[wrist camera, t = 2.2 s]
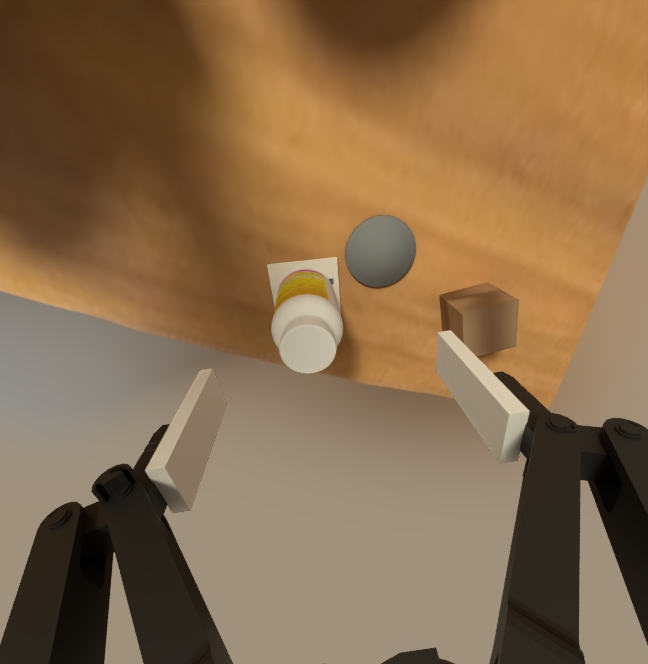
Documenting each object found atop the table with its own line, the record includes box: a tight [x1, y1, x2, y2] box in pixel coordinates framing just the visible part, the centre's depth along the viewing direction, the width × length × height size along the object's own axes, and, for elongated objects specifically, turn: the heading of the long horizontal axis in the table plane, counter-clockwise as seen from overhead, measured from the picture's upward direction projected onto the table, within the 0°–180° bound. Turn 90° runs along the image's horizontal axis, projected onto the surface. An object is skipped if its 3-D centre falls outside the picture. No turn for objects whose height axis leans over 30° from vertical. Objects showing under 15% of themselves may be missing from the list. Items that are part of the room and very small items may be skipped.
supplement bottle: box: [271, 268, 343, 373], centre depth 29 cm, size 7×7×13 cm
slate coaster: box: [346, 215, 416, 287], centre depth 33 cm, size 8×8×1 cm
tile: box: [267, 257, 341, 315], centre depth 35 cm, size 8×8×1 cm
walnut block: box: [440, 282, 519, 357], centre depth 35 cm, size 6×6×6 cm
